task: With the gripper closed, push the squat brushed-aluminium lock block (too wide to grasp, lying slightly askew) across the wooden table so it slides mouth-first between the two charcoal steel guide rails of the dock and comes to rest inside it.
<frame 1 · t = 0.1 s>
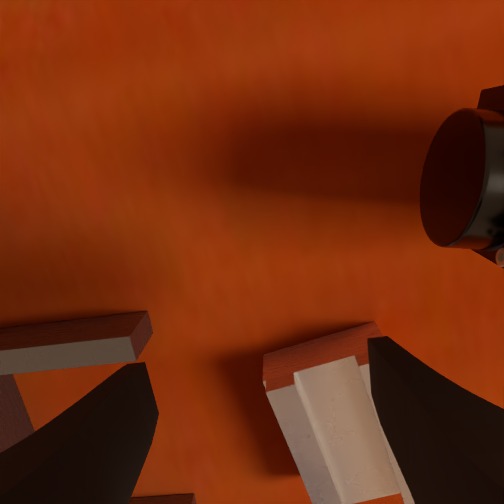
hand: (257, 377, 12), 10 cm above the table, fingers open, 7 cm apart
dock: (103, 425, 26), on the table
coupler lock: (340, 400, 24), on the table
pneumatic valve: (495, 160, 19), on the table
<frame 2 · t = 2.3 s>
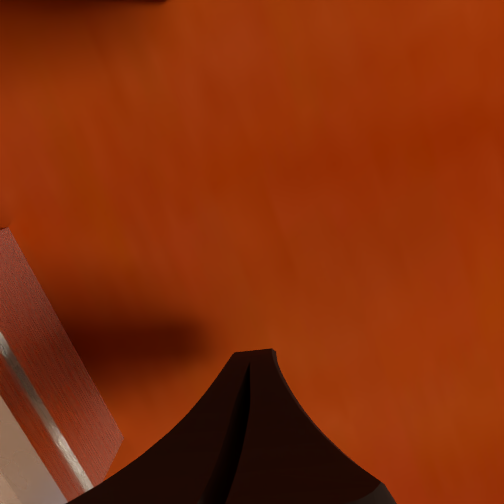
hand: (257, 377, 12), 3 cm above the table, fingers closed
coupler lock: (3, 360, 16), on the table
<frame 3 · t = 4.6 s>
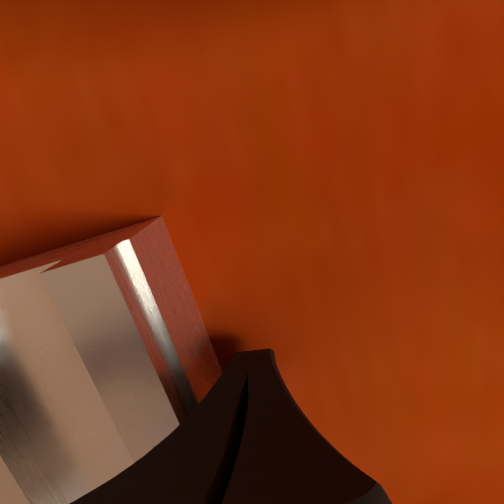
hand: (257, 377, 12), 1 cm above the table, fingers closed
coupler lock: (124, 371, 14), on the table, touching gripper
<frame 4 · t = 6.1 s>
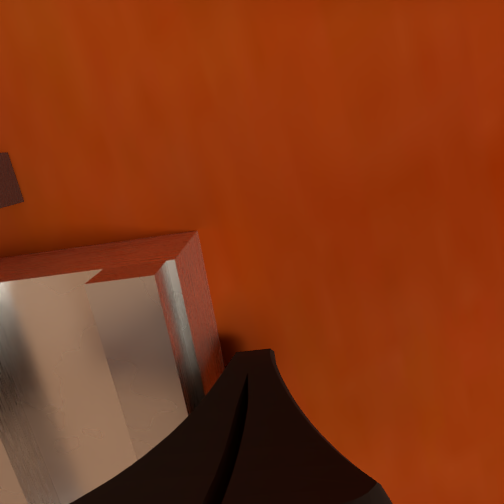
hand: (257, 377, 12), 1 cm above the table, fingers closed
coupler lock: (130, 375, 14), on the table, touching gripper
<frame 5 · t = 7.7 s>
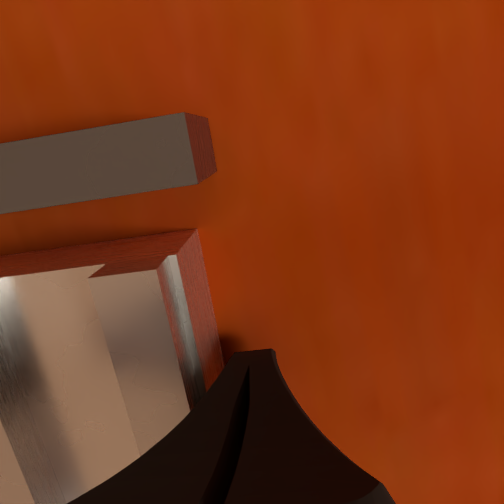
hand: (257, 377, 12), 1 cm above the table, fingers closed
dock: (112, 375, 14), on the table
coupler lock: (132, 370, 14), on the table
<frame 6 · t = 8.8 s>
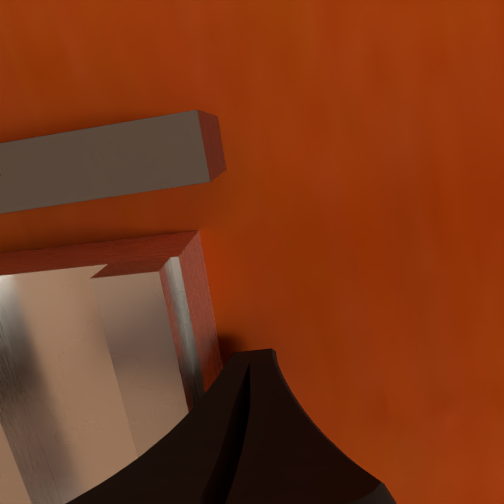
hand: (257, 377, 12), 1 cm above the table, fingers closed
dock: (120, 374, 13), on the table
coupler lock: (130, 370, 14), on the table
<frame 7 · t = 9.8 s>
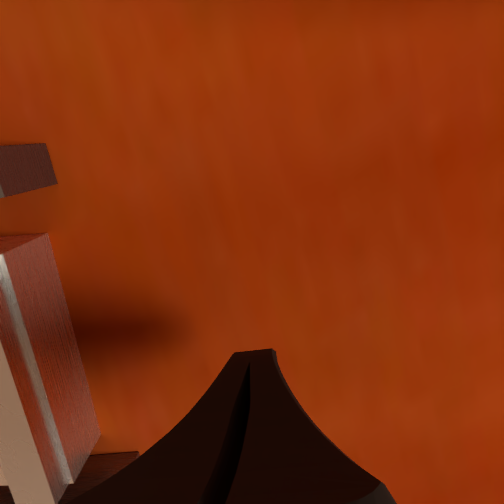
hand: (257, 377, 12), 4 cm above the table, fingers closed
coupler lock: (6, 343, 17), on the table
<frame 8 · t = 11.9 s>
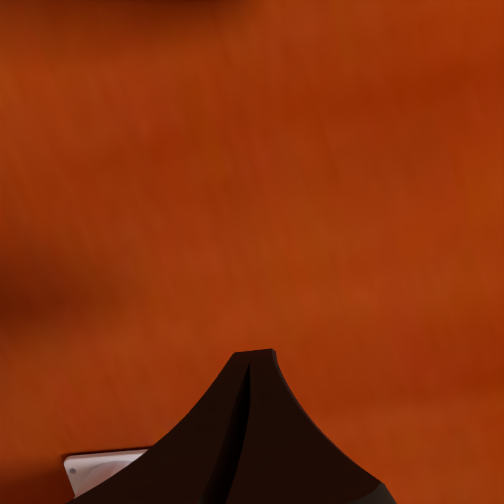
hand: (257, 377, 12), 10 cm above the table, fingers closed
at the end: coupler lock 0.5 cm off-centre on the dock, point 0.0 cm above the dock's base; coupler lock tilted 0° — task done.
